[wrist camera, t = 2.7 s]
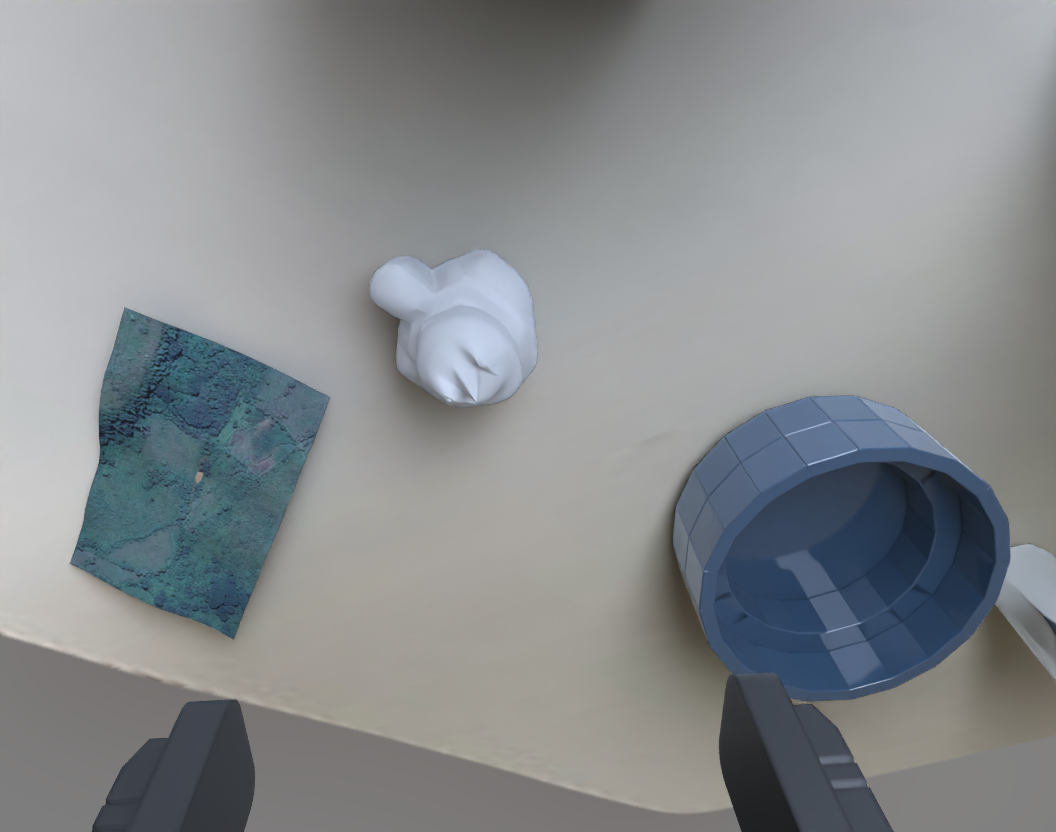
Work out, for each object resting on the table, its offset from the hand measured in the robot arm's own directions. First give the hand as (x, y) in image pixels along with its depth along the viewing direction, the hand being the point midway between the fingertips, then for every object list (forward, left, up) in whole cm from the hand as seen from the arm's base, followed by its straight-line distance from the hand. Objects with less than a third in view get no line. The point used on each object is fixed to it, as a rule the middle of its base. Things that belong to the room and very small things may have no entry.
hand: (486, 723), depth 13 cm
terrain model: (+6, -12, -19) cm, 23 cm away
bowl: (+9, +14, -19) cm, 25 cm away
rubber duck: (-1, -1, -19) cm, 19 cm away
